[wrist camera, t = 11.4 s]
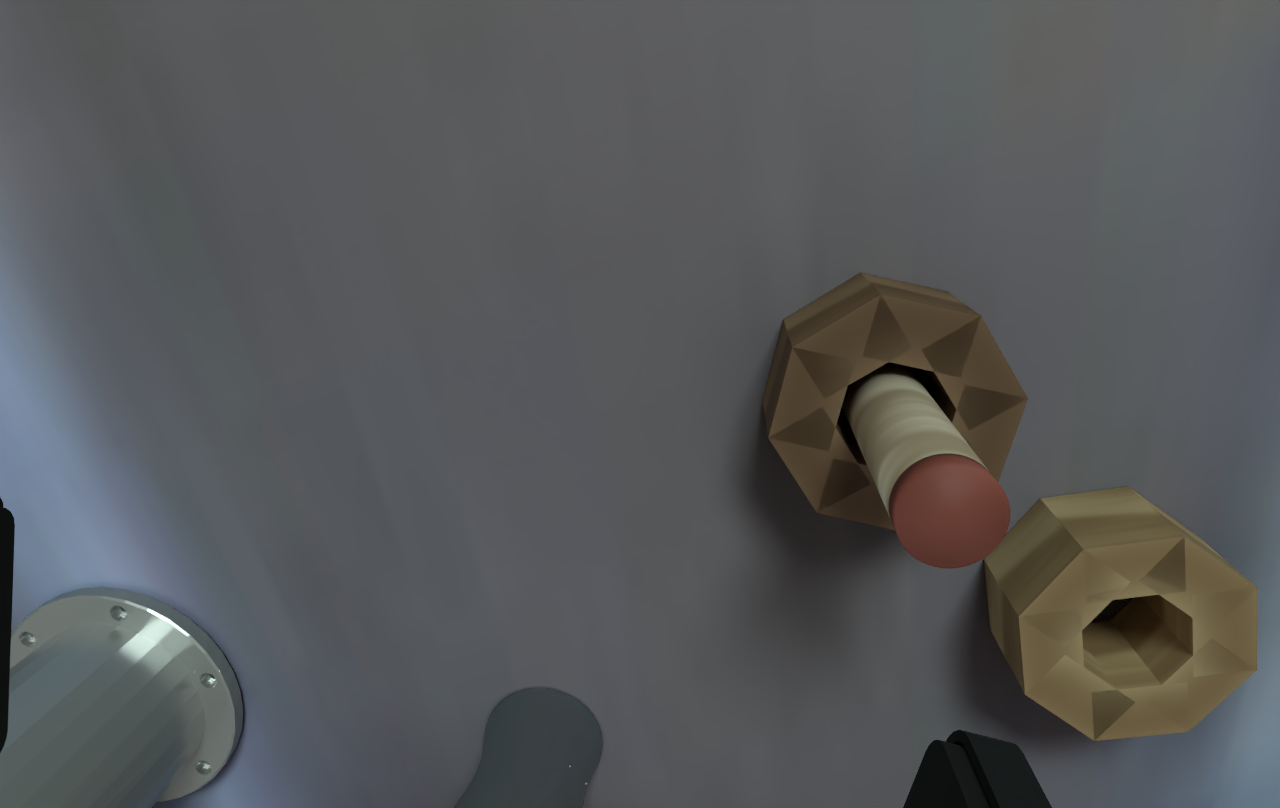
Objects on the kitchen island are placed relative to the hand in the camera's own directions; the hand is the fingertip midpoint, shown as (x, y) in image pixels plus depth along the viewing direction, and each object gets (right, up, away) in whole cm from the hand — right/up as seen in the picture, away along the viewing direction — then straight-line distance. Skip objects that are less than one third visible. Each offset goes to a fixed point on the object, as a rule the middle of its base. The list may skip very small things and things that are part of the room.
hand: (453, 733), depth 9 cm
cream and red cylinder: (+12, +4, +30) cm, 33 cm away
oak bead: (+22, -5, +32) cm, 39 cm away
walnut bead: (+12, +4, +30) cm, 32 cm away
